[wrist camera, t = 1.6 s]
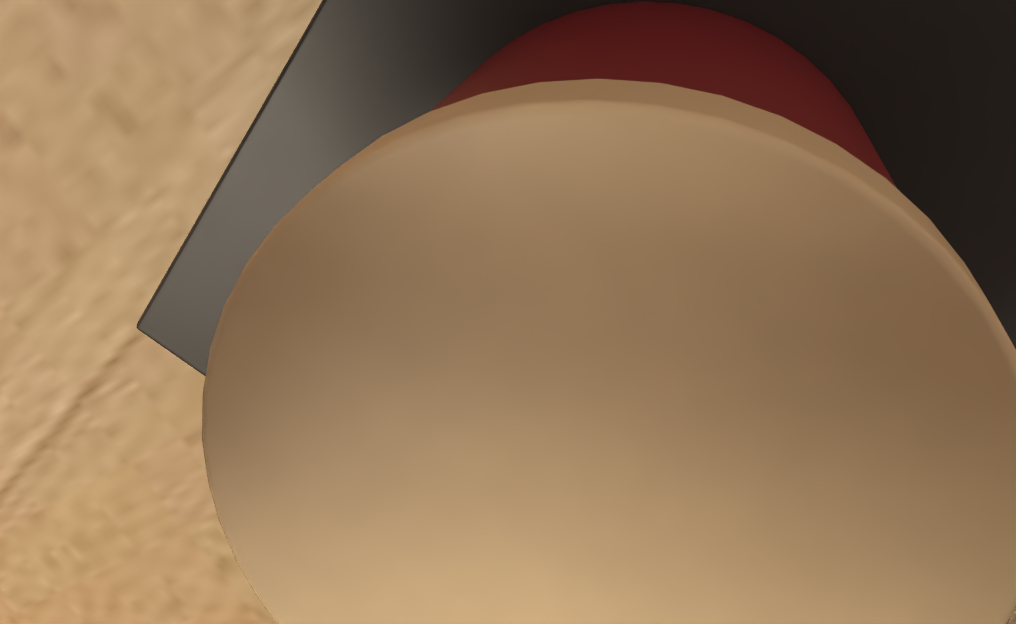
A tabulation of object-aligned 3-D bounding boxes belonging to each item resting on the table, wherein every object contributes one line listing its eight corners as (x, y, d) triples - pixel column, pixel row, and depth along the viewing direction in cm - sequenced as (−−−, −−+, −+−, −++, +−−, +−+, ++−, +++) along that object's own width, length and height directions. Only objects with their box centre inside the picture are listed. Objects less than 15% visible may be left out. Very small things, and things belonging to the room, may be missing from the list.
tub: (1018, 213, 12) (1273, 508, 6) (670, 524, 15) (646, 899, 9) (594, -133, 11) (484, -123, 6) (320, 271, 14) (81, 523, 9)
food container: (1168, 46, 15) (1359, 124, 11) (660, 509, 21) (647, 686, 16) (650, -403, 14) (621, -524, 9) (263, 221, 20) (132, 328, 15)
